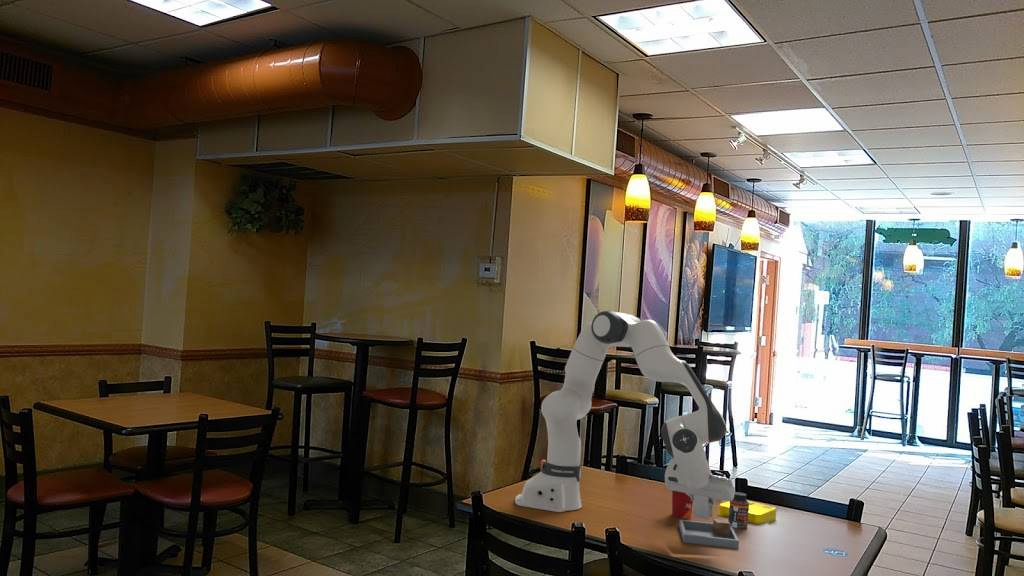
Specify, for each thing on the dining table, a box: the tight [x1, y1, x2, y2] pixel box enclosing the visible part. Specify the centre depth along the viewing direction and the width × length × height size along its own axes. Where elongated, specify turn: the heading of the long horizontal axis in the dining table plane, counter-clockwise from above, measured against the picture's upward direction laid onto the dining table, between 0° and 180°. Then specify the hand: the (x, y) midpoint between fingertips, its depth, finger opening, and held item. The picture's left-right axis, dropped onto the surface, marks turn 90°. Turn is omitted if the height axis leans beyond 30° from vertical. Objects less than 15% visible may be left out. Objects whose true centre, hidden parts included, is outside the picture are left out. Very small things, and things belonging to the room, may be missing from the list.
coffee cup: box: [671, 490, 694, 520], centre depth 244 cm, size 8×8×15 cm
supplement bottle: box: [727, 491, 749, 531], centre depth 236 cm, size 6×6×11 cm
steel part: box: [692, 495, 714, 521], centre depth 224 cm, size 4×4×10 cm
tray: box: [678, 519, 740, 549], centre depth 222 cm, size 16×16×3 cm
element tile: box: [718, 499, 777, 525], centre depth 250 cm, size 15×15×5 cm
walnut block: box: [712, 518, 731, 537], centre depth 226 cm, size 4×4×4 cm
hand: (703, 500), depth 224 cm, fingers closed on steel part, 4 cm apart
